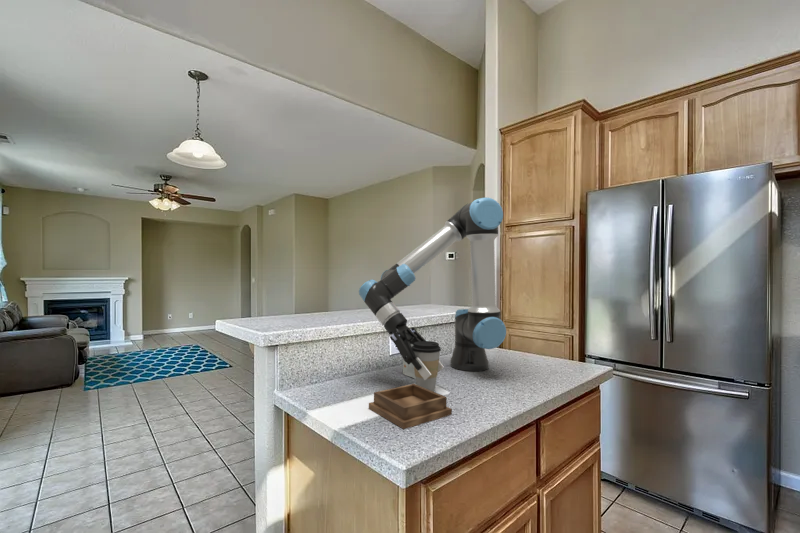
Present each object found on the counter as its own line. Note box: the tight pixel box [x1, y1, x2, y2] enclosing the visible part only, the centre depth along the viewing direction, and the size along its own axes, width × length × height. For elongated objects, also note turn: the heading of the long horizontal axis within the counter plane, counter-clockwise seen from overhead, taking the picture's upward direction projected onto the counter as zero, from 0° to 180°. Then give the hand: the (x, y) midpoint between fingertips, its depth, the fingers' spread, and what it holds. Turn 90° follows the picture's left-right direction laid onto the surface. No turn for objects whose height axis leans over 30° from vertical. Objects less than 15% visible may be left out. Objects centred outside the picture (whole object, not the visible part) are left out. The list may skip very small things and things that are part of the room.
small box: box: [402, 339, 429, 380], centre depth 134 cm, size 8×6×13 cm
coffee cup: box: [412, 340, 442, 393], centre depth 117 cm, size 9×9×15 cm
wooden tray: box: [368, 383, 453, 430], centre depth 99 cm, size 16×16×4 cm
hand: (434, 373), depth 115 cm, fingers closed on coffee cup, 9 cm apart
